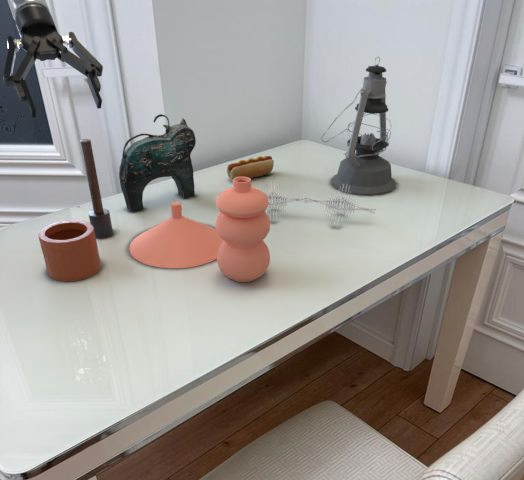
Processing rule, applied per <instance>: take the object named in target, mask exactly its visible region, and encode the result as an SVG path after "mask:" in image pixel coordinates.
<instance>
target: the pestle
mask: <svg viewBox="0 0 524 480" xmlns="http://www.w3.org/2000/svg"><path fill="white" fill-rule="evenodd" d="M79 142H80V147H81V152H82V157H83V162H84V163H83V164H84V169H85V173H86V179H87V184H88V188H89V189H88V190H89V193H90V199H91V204H92V208H93V209H91V210H89V211H88V214H87V215H88V219H89V223H90V224H91V225H92V226H93V227H94V232H95V237H96V239H106V238H110V237H111V236H113V235H114V230H113V224H112V218H111V213H110V210H109V209H107V208H104V207H103V206H104V205H103V200H102V196H101V190H100V184H99V180H98V173H97V168H96V162H95V157H94V156H95V155H94V151H93V146H92V141H91V139H90V138H89V139H88V138H84V139H81V140H80V141H79Z"/></svg>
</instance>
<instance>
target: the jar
mask: <svg viewBox="0 0 524 480" xmlns="http://www.w3.org/2000/svg"><path fill="white" fill-rule="evenodd" d="M37 236H38V240H39V244H40V245H39V246H40V249H41V251H42V252H41V253H42V255H43V259H44V263H45V267H46V270H47V275H48V276H49V277H50V278H52V279H53V280H56V281H60V282H76V281H81V280H86V279H88V278H91V277H93V276H94V275H96V274H97V273H98V272H99V271H100V269H101V267H102V264H101V257H100V252H99V248H98V243H97V242H98V241H97V238H96V237H95V232H94V227H93V226H92V225H91V224H90V222H88V221H84V220H80V219H79V220H77V219H70V220H61V221H57V222H53V223H50V224H47V225H45V226H44V227H42V228H41V229H40V230H39V231H38V233H37Z"/></svg>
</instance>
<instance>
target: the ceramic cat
mask: <svg viewBox="0 0 524 480" xmlns="http://www.w3.org/2000/svg"><path fill="white" fill-rule="evenodd" d="M161 117H164V118H165V119H166V120H167V124H163V125H162V126H163V128H164V129H165V132H164V133H163V134H159V135H157V134H149V133H138V134H136V135H134V136H132V137H130V138H129V139H128V140H126V142H125V143H124V147H123V148H122V155H121V156H122V157H121V160H120V164H119V167H118V168H119V170H118V171H119V172H118V179H119V184H120V189H121V192H122V196H123V198H124V202H125V206H126V209H127V210H128V211H130V212H131V213H135V212H138V211H142V210H143V209H144V202H143V200H144V199H143V197H144V191H145V189H146V187H147V185H149V183H151V182H152V181H155V180H156V179H160V178H167V177H171V178H172V179H173V182H174V184H175V186H176V189H177V193H178V195H179V196H180V197H181V198H183V199H187V198H189V197H194V196H195V195H196V194H195V180H194V178H195V177H194V167H193V162H192V158H191V154H192V152H193V150H194V149H195V147H196V143H197V142H196V140H197V139H196V134H195V132H194V130H193V129H192V128H191V127H189V125H188V123H187V121H186V119H185V118H183V117H182V118H181V120H180V123H177V124H174V125H170V119H169V118H168V116H166V115H165V114H162V113H159V114H157V115H155V116H154V118H153V123H156V121H157V120H158V119H159V118H161ZM141 136H142V137H143V136H146V137H144V138H142V139H139V140H136V141H134V142H132V143H131V144H130V146H128V145H129V143H130V142H131V141H133V140H134V139H137V138H139V137H141ZM127 146H128V147H127Z"/></svg>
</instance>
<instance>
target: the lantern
mask: <svg viewBox="0 0 524 480" xmlns="http://www.w3.org/2000/svg"><path fill="white" fill-rule="evenodd" d="M378 58H379V60H378V63H377V64H374V65H369V66H368V67H367V68H366V69H365V72H368V75H367V76H364V77H363V82H362V87H361V88H360V90H359V91H358V92H357V93H356V95H355V98H354V100H353V101H352V102H351V103H350V104H349V105H347V106H346V107H345V108H344V109H343V110H342V111H341V112H340V113H339V114H338V115H337V116H336V117H335V119H334V120H333V122H331V124H330V125H329V127H328V128H327V129H326V130H325V132H324V133H323V134H322V135H321V137H320V140H321V141H322V142H323V143H328V142H330V141H331V140H333V139H335V138H336V137H338V136H339V135H341V134H343V133H344V132H346V133H347V135H348V138H349V139H348V140H347V141H346V146H347V147H348V148H347V151H346V152H344V153H343V155H344V157H345V158H344V159H342V160H341V161H340V162H339V166H338V170H337V173H336V174H334V175H333V177H331V179H330V184H331V186H332V187H333V188H335V190H337V189H338V190H337V191H339V189H340V191H339V192H341V193H345V190H346V193H345V194H350V192H351V194H350V195H352V194H353V195H355V196H379V195H380V196H381V195H386V194H388V193H391V192H393V191H394V190H395V189H396V187H397V185H398V183H397V181H396V180H395V178H393V177H392V175H393V174H392V165H391V163H390V161H389V160H387V159H385V158H383V157H381V156H380V154H381V153H384V152H385V151H386V150H387V148H388V147H389V146H390V138H391V134H392V132H391V129H392V122H391V120H390V119H389V118H387V114H386V113H387V112H389V108H388V105H387V103H386V97H387V95H386V88H387V87H386V86H387V84H388V81H387V78H386V77H384V76H383V73H386V72H387V68H386V67H384V66H381V65H380V62H381V57H380V56H377V57H375V58H374V61H376V60H377V59H378ZM359 94H360V97H359V102H358V103H357V104H356V106H355V107H354V110H356V115H355V119H354V121H351V122H349V123H348V125H347V128H345V129H344V130H342V131H340V132H339V133H337V134H336V135H335V136H333V137H330V138H329V139H327V140H326V141H324V139H323V137H324V136H325V134H326V133H327V132H328V131H329V130H330V128H331V127H332V125H334V123H335V122H336V121H337V119H338V118H340V116H341V115H342V114H343V113H344V112H345V111H346V110H347V109H348V108H350V107H351V105H353V104H354V103H355V101H356V100H357V98H358V95H359ZM369 115H375V116H378V117H379V118H378V119H379V127H377V126H374V125H370V124H367V123H362V122H363V119H364V117H366V116H369ZM387 120H388V122H389V124H390V127H389V129H387ZM362 125H364V126H369V127H372V128H375V129H379V130H377V131H376V132H377V133H379V138H377V137H376V136H375V134H374V133H372V132H371V133H366V132H365V133H364V134H361V133H360V131H361V126H362ZM352 126H353V128H352V130H350V128H351V127H352ZM349 132H350V133H351V136H350V133H349ZM343 184H344V187H343ZM340 186H341V187H340ZM346 186H347V188H346ZM349 186H350V188H349ZM342 188H343V191H342ZM348 190H349V192H348Z"/></svg>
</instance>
